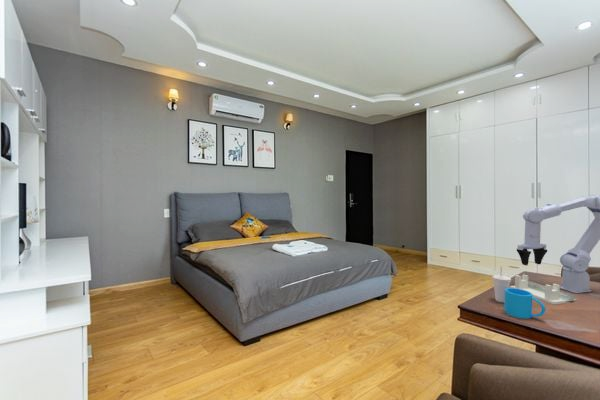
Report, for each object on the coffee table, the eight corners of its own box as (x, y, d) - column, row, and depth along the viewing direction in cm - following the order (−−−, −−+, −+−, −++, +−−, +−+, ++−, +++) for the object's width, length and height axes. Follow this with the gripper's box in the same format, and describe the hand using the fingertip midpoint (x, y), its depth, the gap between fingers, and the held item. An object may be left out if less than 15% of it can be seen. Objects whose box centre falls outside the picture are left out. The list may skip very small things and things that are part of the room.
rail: (530, 285, 137) (530, 281, 137) (573, 300, 119) (574, 295, 119) (526, 286, 136) (526, 281, 136) (569, 301, 119) (569, 295, 119)
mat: (535, 286, 137) (535, 285, 137) (576, 300, 120) (576, 299, 120) (523, 287, 135) (523, 287, 135) (563, 302, 119) (563, 301, 119)
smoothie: (504, 298, 123) (505, 265, 122) (514, 304, 117) (515, 269, 116) (488, 297, 124) (489, 264, 123) (497, 303, 117) (498, 269, 117)
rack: (520, 287, 136) (520, 273, 136) (565, 303, 118) (566, 286, 117) (509, 288, 135) (510, 273, 134) (554, 304, 116) (554, 287, 116)
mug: (500, 312, 109) (501, 291, 108) (508, 307, 114) (509, 286, 113) (541, 324, 99) (542, 301, 99) (548, 318, 104) (549, 295, 104)
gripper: (528, 237, 131) (527, 267, 131) (553, 236, 134) (552, 265, 135) (513, 235, 138) (512, 263, 138) (538, 233, 141) (536, 261, 142)
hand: (531, 264), depth 137 cm, fingers open, 7 cm apart
